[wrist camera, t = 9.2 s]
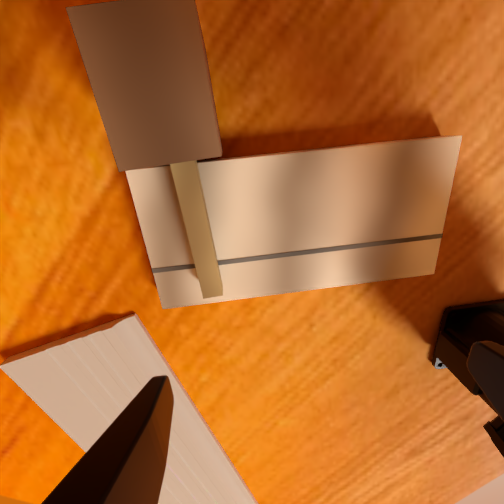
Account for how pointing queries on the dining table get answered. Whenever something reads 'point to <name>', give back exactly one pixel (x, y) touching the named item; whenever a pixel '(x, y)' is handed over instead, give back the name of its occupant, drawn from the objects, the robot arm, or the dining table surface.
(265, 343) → the dining table surface
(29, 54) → the dining table surface
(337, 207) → the board
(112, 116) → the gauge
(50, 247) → the dining table surface
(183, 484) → the baseboard molding
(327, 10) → the dining table surface
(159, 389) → the robot arm
